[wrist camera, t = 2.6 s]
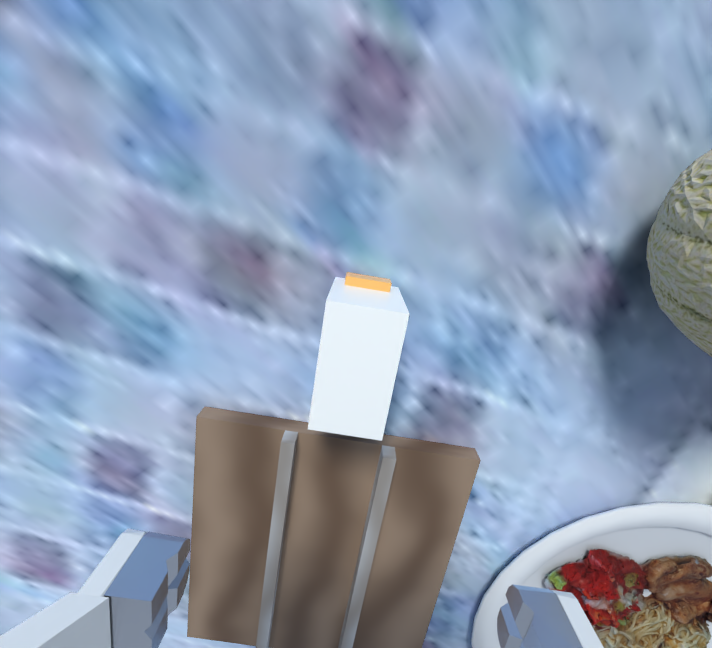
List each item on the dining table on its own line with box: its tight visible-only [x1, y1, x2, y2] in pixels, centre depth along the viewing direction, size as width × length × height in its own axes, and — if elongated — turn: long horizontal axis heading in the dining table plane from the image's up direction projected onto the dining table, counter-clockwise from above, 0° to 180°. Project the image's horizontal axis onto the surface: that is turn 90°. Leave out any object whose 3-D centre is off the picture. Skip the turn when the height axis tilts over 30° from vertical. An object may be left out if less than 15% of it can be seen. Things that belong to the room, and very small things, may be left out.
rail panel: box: [187, 407, 480, 648], centre depth 32 cm, size 22×24×3 cm
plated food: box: [471, 502, 712, 648], centre depth 35 cm, size 30×30×3 cm
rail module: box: [308, 272, 409, 441], centre depth 24 cm, size 4×9×7 cm, turn 171°
